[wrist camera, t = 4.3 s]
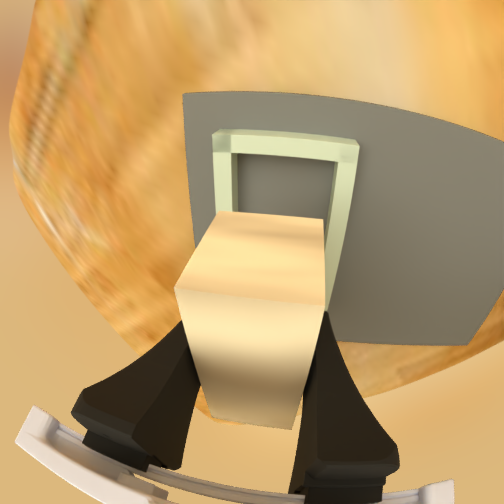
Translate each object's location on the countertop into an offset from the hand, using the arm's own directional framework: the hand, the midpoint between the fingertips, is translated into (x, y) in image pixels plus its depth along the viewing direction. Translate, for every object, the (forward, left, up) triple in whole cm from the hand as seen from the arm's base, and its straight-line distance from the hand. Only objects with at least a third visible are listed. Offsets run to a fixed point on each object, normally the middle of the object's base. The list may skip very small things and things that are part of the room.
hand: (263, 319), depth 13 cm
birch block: (0, 0, -1) cm, 1 cm away
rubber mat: (-7, +1, -8) cm, 11 cm away
